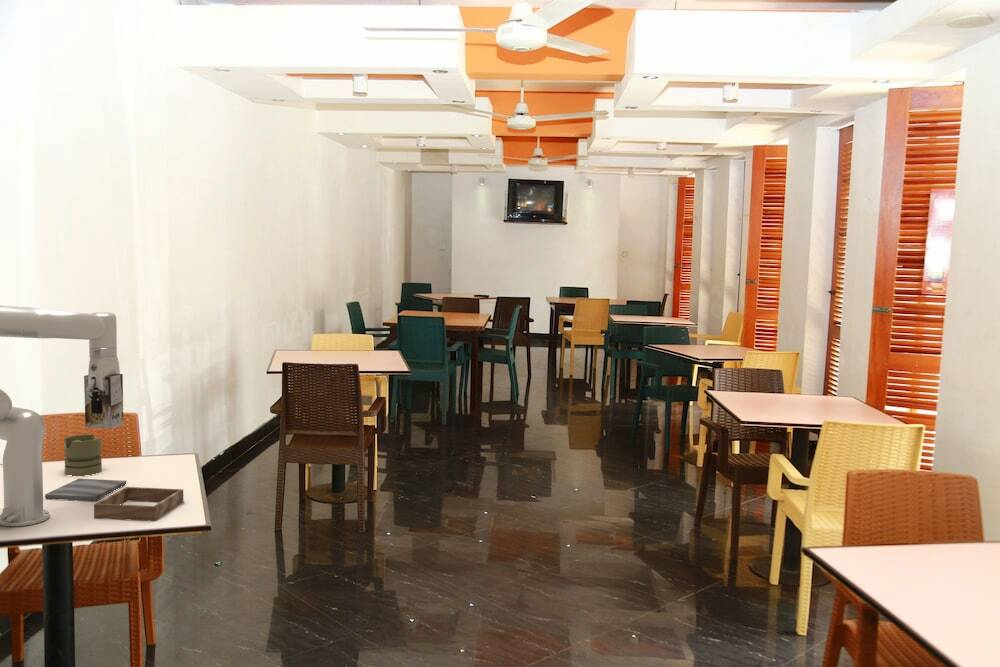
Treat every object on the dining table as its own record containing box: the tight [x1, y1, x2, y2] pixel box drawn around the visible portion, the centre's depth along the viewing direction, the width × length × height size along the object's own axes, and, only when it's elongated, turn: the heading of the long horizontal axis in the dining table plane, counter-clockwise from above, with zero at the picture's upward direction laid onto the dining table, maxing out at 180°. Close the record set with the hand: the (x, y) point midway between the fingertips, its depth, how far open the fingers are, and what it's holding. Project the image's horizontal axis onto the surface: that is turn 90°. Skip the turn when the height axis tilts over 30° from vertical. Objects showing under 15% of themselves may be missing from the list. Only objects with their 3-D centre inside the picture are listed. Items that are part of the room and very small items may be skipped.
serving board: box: [44, 478, 127, 502], centre depth 255 cm, size 18×16×2 cm
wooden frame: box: [93, 486, 184, 522], centre depth 239 cm, size 18×18×4 cm
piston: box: [63, 433, 103, 477], centre depth 277 cm, size 11×12×11 cm
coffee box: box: [83, 373, 124, 430], centre depth 246 cm, size 9×6×16 cm
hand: (103, 410), depth 247 cm, fingers closed on coffee box, 6 cm apart
